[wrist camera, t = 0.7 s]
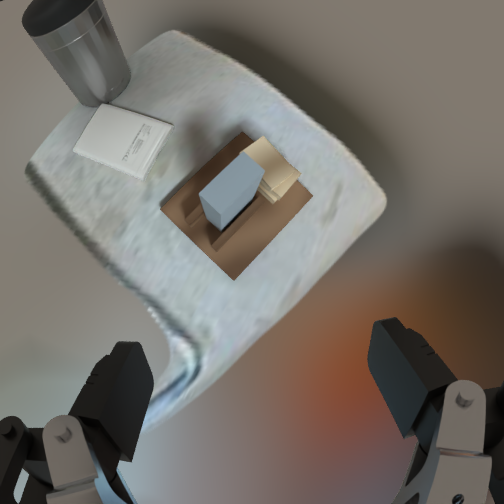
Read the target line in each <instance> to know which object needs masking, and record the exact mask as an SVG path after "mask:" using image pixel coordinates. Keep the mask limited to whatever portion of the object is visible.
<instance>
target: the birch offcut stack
mask: <svg viewBox="0 0 504 504" xmlns="http://www.w3.org/2000/svg"><path fill="white" fill-rule="evenodd" d="M243 151H244V152H245V153H246V154H247V155H248V156H249V157H250V158H252V159H253V160H254V161H255V162H256V163H257V164H258V165H259V166H260V167H262V168H263V169H264V170H265V172H264V174H263V177H262V179H261V181H260V183H259V186H258V188H257V190H258V191H259V192H260V193H261V194H262V195H263V196H265V197H266V198H267V199H268V200H269V201H270V202H271V203H272V204H274V203H275V202H276V201H277V200H280V199H281V197H282V196H283V195H284V194H285V193H286V192H287V190H288V189H289V188H290V187H291V186H292V184H293V183H294V182H295V181H296V180H297V178H298V177H299V176H300V175H301V174H302V173H300V172H299V171H298V170H297V169H295V168H294V167H293V166H292V165H291V164H289V163H288V162H287V161H286V159H285V158H284V157H283V156H282V155H281V154H280V153H279V152H278V151H277V150H276V149H275V148H274V146H273V145H272V144H271V143H270V142H269V141H268V140H267V139H266V138H265V137H264V136H262V137H261V138H260V139H258V140H257V141H255V142H254V143H252V144H251V145H250V146H248V147H247V148H245V149H244V150H243ZM243 151H241V152H240V153H239V155H240V154H241V153H242V152H243Z"/></svg>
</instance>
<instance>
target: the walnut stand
mask: <svg viewBox="0 0 504 504" xmlns="http://www.w3.org/2000/svg"><path fill="white" fill-rule="evenodd" d="M252 143H254V141H253V140H252V139H251V138H249V137H248V136H247V135H246V134H245V133H244V132H241V133H240V134H239V135H238V136H237V137H235V138H234V139H233V140H232V141H231V142H230V143H229V144H227V145H226V146H225V147H224V148H223V149H222V150H221V151H220V152H219V153H217V154H216V155H215V156H214V157H213V158H212V159H211V160H210V161H209V162H208V163H207V164H205V165H204V166H203V167H202V168H201V169H200V170H199V171H198V172H197V173H196V174H195V175H194V176H193V177H192V178H191V179H190V180H189V181H188V182H187V183H186V184H185V185H184V186H183V187H182V188H181V189H180V190H179V191H178V192H177V193H176V194H175V195H174V196H173V197H172V198H171V199H170V200H169V201H168V202H167V203H166V204H165V205H164V206H163V207H162V208H161V209H160V210H161V211H162V212H163V213H164V214H165V215H166V216H167V217H168V218H169V219H170V220H171V221H172V222H173V223H174V224H175V225H176V226H177V227H178V228H179V229H180V230H181V231H182V232H183V233H185V234H186V235H187V236H188V237H189V238H190V239H191V240H192V241H193V242H194V243H195V244H196V245H197V246H198V247H199V248H200V249H201V250H202V251H203V252H204V253H205V254H206V255H207V256H208V257H209V258H210V259H211V260H212V261H213V262H215V263H216V264H217V265H218V266H219V267H220V268H221V269H222V270H223V271H224V272H225V273H226V274H227V275H228V276H229V277H230V278H231V279H232V280H235V279H236V278H237V277H238V276H239V275H240V274H241V273H242V272H243V271H244V270H245V268H246V267H247V266H248V265H249V264H250V263H251V262H252V261H253V260H254V259H255V258H256V257H257V256H258V255H259V254H260V252H261V251H262V250H263V249H264V248H265V247H266V246H267V245H268V244H269V243H270V242H271V241H272V240H273V239H274V238H275V236H276V235H277V234H278V233H279V232H280V231H281V230H282V229H283V228H284V227H285V226H286V225H287V224H288V223H289V221H290V220H291V219H292V218H293V217H294V216H295V215H296V214H297V213H298V212H299V211H300V210H301V209H302V208H303V206H304V205H305V204H306V203H307V202H308V201H309V200H310V199H311V198H312V197H313V195H312V194H311V193H310V192H309V191H308V190H307V189H306V188H305V187H304V186H303V185H301V184H300V183H299V182H298V181H297V180H296V181H295V182H294V183H293V184H292V186H291V187H290V188H289V189H288V190H287V192H286V193H285V194H284V195H283V196H282V197H281V199H280V200H277V201H276V202H275V203H274V204H272V203H271V202H270V201H269V200H268V199H267V198H266V197H265V196H263V195H262V194H261V193H260V192H259V191H258V190H256V193H255V195H254V197H253V199H252V202H251V203H250V204H249V205H248V206H247V207H246V208H245V209H244V210H243V211H242V212H241V213H240V214H239V215H238V216H237V217H236V218H235V219H234V220H233V221H232V222H231V223H230V224H229V225H228V226H227V227H226V228H225V229H224V231H223V232H222V233H221V232H220V231H219V230H218V229H217V228H216V227H215V226H214V225H213V224H212V223H211V222H210V221H209V220H208V219H207V218H206V215H205V212H204V209H203V206H202V203H201V200H200V197H199V193H200V192H201V191H202V190H203V189H204V188H205V187H206V186H207V185H208V184H209V183H210V182H211V181H212V180H213V179H214V178H215V177H216V176H217V175H218V174H219V173H220V172H221V171H222V170H224V169H225V168H226V167H227V166H228V165H229V164H230V163H231V162H232V161H233V160H234V159H235V158H236V157H238V156H239V153H240V152H241V151H243V150H244V149H245V148H247V147H248V146H250V145H251V144H252Z"/></svg>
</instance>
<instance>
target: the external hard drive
mask: <svg viewBox="0 0 504 504" xmlns="http://www.w3.org/2000/svg"><path fill="white" fill-rule="evenodd" d="M173 130H174V126H173V125H171V124H168V123H165V122H162V121H159V120H156V119H153V118H150V117H147V116H144V115H141V114H138V113H135V112H132V111H128V110H125V109H122V108H118V107H115V106H111V105H108V104H104V103H102V104H101V105H100V107H99V108H98V110H97V111H96V112H95V114H94V115H93V117H92V119H91V120H90V122H89V123H88V125H87V127H86V128H85V130H84V131H83V133H82V135H81V136H80V138H79V140H78V141H77V143H76V145H75V147H74V149H73V151H74V152H75V153H76V154H78V155H81V156H83V157H86V158H88V159H91V160H93V161H96V162H98V163H101V164H103V165H105V166H108V167H110V168H113V169H115V170H118V171H120V172H122V173H125V174H127V175H130V176H132V177H135V178H137V179H139V180H141V181H145V179H146V177H147V175H148V174H149V172H150V170H151V168H152V166H153V164H154V163H155V161H156V159H157V156H158V154H159V152H160V150H161V149H162V148H163V147H164V145H165V143H166V141H167V140H168V138H169V136H170V135H171V133H172V131H173Z"/></svg>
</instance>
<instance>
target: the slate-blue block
mask: <svg viewBox="0 0 504 504" xmlns="http://www.w3.org/2000/svg"><path fill="white" fill-rule="evenodd" d="M264 172H265V170H264V169H263V168H262V167H260V166H259V165H258V164H257V163H256V162H255V161H254V160H253V159H252V158H250V157H249V156H248V155H247V154H246V153H245V152H244V151H243V152H242V153H241V154H240V155H239V156H238V157H236V158H235V159H234V160H233V161H232V162H231V163H230V164H229V165H228V166H227V167H226V168H225V169H224V170H222V171H221V172H220V173H219V174H218V175H217V176H216V177H215V178H214V179H213V180H212V181H211V182H210V183H209V184H208V185H207V186H206V187H205V188H204V189H203V190H202V191H201V192H200V193H199V197H200V200H201V203H202V206H203V209H204V212H205V215H206V218H207V219H208V220H209V221H210V222H211V223H212V224H213V225H214V226H215V227H216V228H217V229H218V230H219V231H220V232H221V233H222V232H223V231H224V229H225V228H226V227H227V226H228V225H229V224H230V223H231V222H232V221H233V220H234V219H235V218H236V217H237V216H238V215H239V214H240V213H241V212H242V211H243V210H244V209H245V208H246V207H247V206H248V205H249V204H250V203H251V202H252V199H253V197H254V195H255V193H256V190H257V188H258V186H259V183H260V181H261V179H262V177H263V174H264Z"/></svg>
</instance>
